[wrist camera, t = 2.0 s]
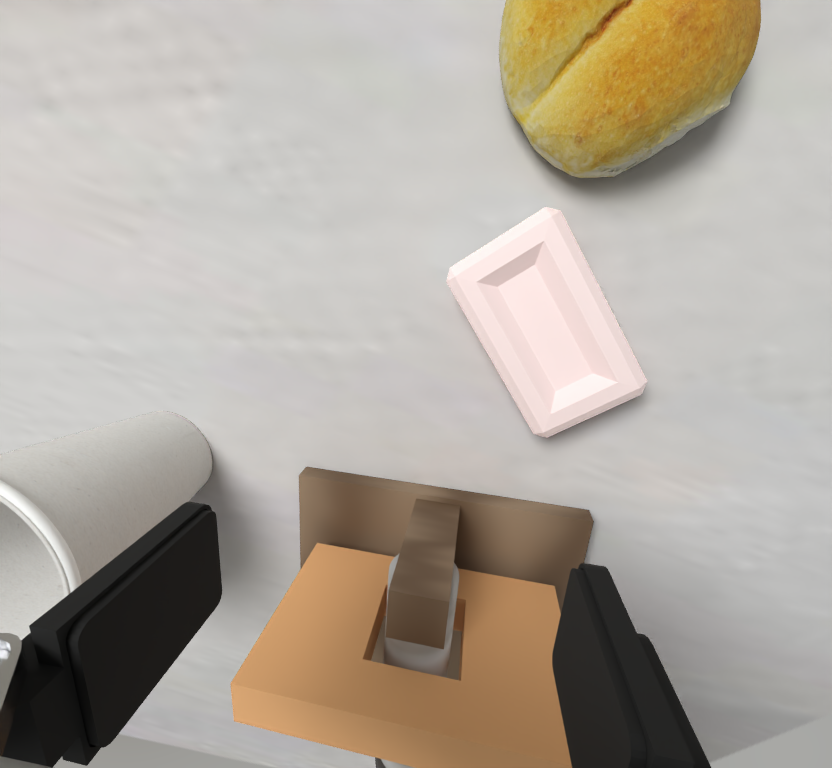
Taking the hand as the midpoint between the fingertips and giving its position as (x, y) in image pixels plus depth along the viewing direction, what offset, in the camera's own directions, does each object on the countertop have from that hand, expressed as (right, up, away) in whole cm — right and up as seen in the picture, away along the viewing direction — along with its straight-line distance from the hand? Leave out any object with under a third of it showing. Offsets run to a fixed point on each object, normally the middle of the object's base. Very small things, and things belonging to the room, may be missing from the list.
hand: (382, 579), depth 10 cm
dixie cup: (-14, +1, +15) cm, 21 cm away
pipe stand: (+2, -10, +15) cm, 18 cm away
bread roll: (+9, +18, +6) cm, 21 cm away
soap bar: (+7, +8, +9) cm, 14 cm away
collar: (+2, -6, +12) cm, 13 cm away
